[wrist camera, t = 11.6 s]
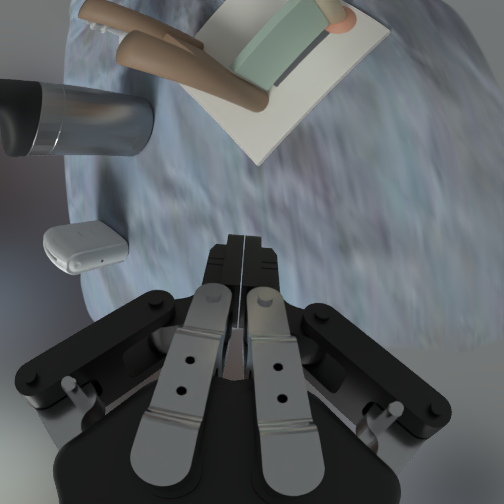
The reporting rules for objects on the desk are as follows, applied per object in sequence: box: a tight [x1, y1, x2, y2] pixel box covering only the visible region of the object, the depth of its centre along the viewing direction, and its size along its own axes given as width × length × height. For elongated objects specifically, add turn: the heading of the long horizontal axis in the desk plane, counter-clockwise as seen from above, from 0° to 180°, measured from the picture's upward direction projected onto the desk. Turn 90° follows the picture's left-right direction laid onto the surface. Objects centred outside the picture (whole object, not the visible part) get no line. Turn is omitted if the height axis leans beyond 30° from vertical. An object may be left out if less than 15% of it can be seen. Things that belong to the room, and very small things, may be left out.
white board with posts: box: [78, 0, 391, 166], centre depth 20 cm, size 20×20×18 cm
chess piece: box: [83, 20, 128, 44], centre depth 33 cm, size 5×5×10 cm
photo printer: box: [43, 221, 129, 275], centre depth 41 cm, size 10×4×12 cm, turn 70°
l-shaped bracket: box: [229, 0, 346, 91], centre depth 17 cm, size 13×3×17 cm, turn 136°
